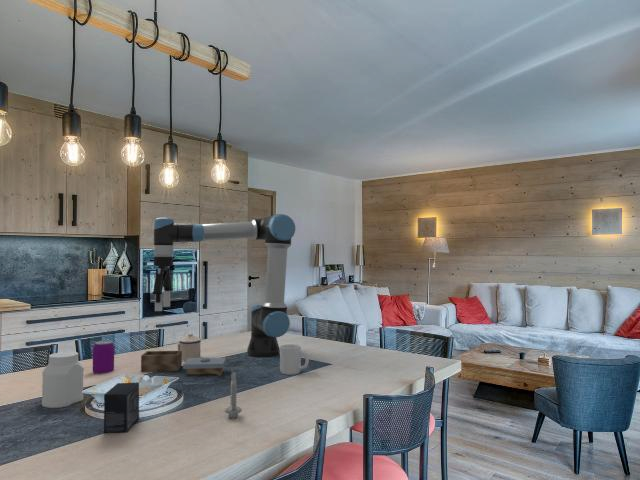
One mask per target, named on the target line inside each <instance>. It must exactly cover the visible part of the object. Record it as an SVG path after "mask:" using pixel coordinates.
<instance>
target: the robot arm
mask: <svg viewBox="0 0 640 480" xmlns="http://www.w3.org/2000/svg"><path fill="white" fill-rule="evenodd" d="M153 226H154V228H153V247H152V251H153V255H154V257H153V266H154V267H158V268H156V269H155V277H154V278H155V279H154V286H153V291H152V295H154V312H163V308H170V307H171V292H172V291H173V287H172V279H171V276H172V275H171V267H172V266H173V265H174V257H173V256H174V242H179V243H184V244H185V243H197V242H198V243H201V242H208V241H223V240H224V241H225V240H238V239H239V240H240V239H241V240H242V239H253V240H254V241H256V240H261V241H262V240H263V241H265V242H264V244H265V245H266V247H267V264H266V277H265V293H264V294H265V295H264V302H263V303H261V304H254V305H253V306H252V307H251V311H250V315H251V317H250V318H251V324H250V325H251V327H250V329H251V331H250V334H251V335H250V340H249V343H248V347H247V349H246V352H247V355H248V356H250V357H255V358H268V357H270V358H271V357H275V356H276V357H277V356H278V355H280V346H279V343H278V339H277V338H280V337H283V336H284V335H285V334H286V333H287V332H288V331H289V329H290V326H291V325H290V324H291V322H290V317H289V316H288V305H287V304H286V303H285V297H286V296H285V295H286V293H285V292H286V279H287V278H286V277H287V276H286V275H287V261H288V259H287V258H288V249H289V248H290V247H291V246H292V238H293V237H294V235H295V233H296V223H295V222H294V220H293V219H292V217H290V216H289V215H287V214H284V213H283V214H282V213H281V214H279V213H278V214H273V215H270V216H266V217H262V218H257V219H254V218H253V219H251V221H239V222H238V221H237V222H222V223H202V224H201V223H178V222H177V223H176V222H175V220H174V218H172V217H156V218H155V219H154V225H153Z"/></svg>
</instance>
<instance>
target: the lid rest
mask: <svg viewBox="0 0 640 480" xmlns="http://www.w3.org/2000/svg"><path fill="white" fill-rule="evenodd" d="M223 371H224V367H223V368H198V369H186V375H216V376H217V377H220V376H222V375H223Z"/></svg>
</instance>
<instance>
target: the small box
mask: <svg viewBox="0 0 640 480" xmlns="http://www.w3.org/2000/svg"><path fill="white" fill-rule="evenodd" d="M139 388H140V382H117V383H116V384H115V385H114V386H113V387H111V388H110V389H109V390H108V391H107V392H106V393H105V394H103V433H104V434H122V433H123V434H126V433H128V432H129V431H130V430H131V429H132V428H133V426H134V425H135V424H136V423H137V422H138V420H139V419H140V389H139Z"/></svg>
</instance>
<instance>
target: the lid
mask: <svg viewBox="0 0 640 480" xmlns="http://www.w3.org/2000/svg"><path fill="white" fill-rule="evenodd" d="M226 362H227V357H224V356H223V357H200V358H188V359H187V360H186V361H184V362H183V364H182V369H183V370H187V369H198V368H223V369H224V368H225V364H226Z"/></svg>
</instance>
